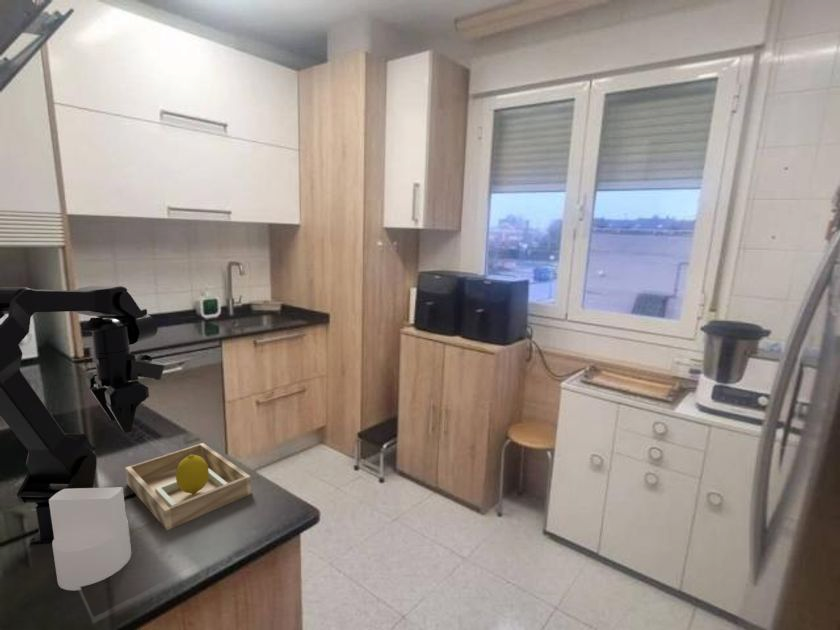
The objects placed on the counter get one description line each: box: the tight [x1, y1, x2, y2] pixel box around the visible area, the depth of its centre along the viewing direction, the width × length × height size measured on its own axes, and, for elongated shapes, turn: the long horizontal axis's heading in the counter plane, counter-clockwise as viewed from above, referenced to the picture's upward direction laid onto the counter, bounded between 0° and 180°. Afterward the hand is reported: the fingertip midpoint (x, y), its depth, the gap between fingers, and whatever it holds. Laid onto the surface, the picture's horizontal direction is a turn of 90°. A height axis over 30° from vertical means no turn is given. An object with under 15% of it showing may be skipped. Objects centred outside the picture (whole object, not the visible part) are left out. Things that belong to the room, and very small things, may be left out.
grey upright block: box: [49, 486, 132, 591], centre depth 65 cm, size 9×9×12 cm
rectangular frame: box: [155, 468, 227, 507], centre depth 85 cm, size 10×10×2 cm
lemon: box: [176, 454, 209, 494], centre depth 84 cm, size 6×6×8 cm
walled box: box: [124, 442, 253, 531], centre depth 86 cm, size 22×15×4 cm
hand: (120, 426), depth 88 cm, fingers open, 9 cm apart
